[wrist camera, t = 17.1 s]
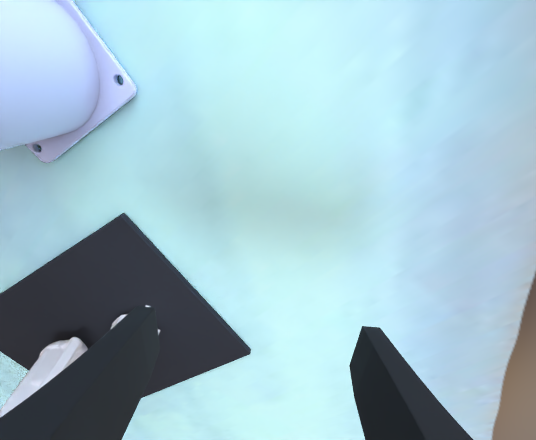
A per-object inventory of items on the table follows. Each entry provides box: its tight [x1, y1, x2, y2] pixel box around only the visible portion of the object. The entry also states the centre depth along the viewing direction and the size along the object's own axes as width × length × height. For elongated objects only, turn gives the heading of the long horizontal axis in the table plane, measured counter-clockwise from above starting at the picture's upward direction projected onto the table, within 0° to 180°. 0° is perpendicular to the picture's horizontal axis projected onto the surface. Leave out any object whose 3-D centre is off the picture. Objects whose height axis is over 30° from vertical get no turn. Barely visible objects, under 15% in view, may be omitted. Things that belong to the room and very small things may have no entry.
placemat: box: [0, 213, 251, 398], centre depth 25 cm, size 16×20×1 cm
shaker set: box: [0, 305, 160, 417], centre depth 20 cm, size 12×4×11 cm, turn 112°
